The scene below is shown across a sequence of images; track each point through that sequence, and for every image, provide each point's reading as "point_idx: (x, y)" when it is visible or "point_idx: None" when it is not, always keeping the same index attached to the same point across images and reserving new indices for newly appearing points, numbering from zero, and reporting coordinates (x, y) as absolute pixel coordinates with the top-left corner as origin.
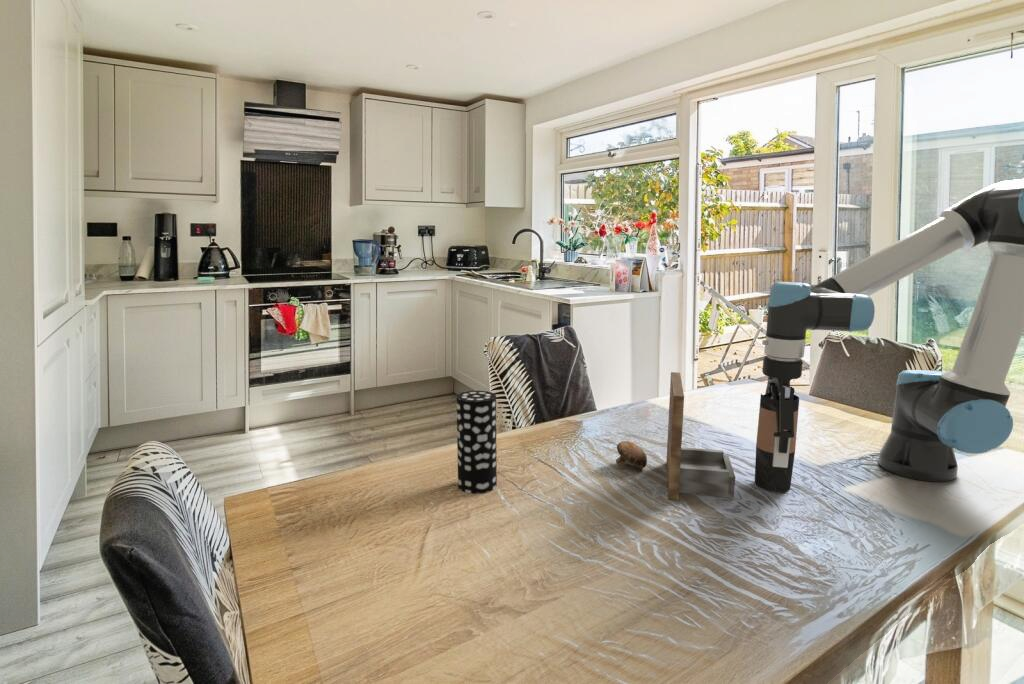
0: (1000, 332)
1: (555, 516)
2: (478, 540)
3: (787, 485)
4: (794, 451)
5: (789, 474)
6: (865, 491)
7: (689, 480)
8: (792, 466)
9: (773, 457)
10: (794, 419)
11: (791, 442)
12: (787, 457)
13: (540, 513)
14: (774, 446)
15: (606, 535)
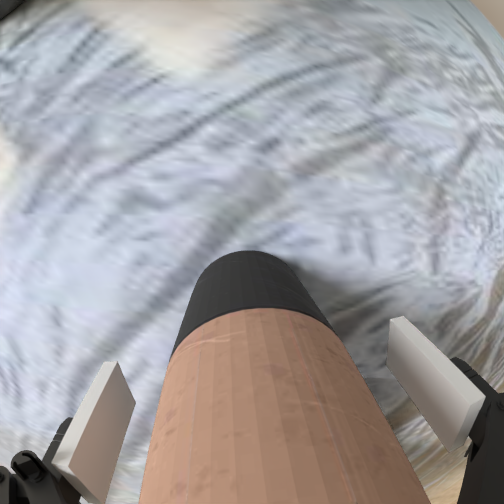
0: None
1: (425, 490)
2: (457, 490)
3: (286, 267)
4: (285, 309)
5: (292, 278)
6: (187, 23)
7: None
8: (281, 280)
9: (403, 382)
10: (410, 486)
11: (352, 364)
12: (426, 341)
13: None
14: (424, 413)
15: (468, 447)
